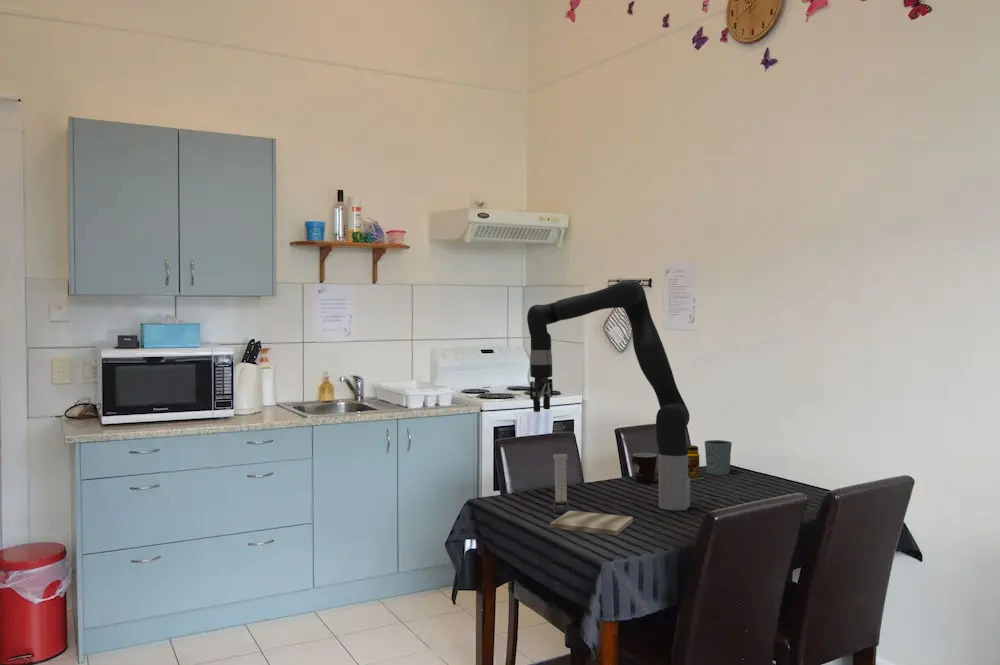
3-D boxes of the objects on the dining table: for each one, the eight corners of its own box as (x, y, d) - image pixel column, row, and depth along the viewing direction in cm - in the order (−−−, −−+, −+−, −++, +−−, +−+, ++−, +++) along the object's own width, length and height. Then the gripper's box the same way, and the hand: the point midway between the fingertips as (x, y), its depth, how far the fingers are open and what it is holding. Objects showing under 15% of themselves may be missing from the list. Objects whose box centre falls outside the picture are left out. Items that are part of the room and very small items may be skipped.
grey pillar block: (566, 509, 253) (566, 453, 253) (570, 513, 248) (570, 455, 248) (551, 510, 253) (550, 453, 252) (555, 514, 248) (554, 456, 247)
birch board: (632, 521, 238) (632, 516, 237) (616, 535, 223) (616, 530, 223) (569, 515, 246) (569, 510, 246) (550, 528, 232) (550, 523, 232)
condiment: (688, 480, 294) (688, 448, 294) (675, 476, 302) (675, 444, 302) (705, 478, 297) (704, 446, 297) (691, 474, 305) (691, 443, 305)
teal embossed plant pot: (705, 475, 304) (705, 443, 304) (703, 469, 314) (703, 439, 314) (733, 475, 302) (733, 444, 302) (730, 470, 312) (730, 439, 312)
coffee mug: (659, 484, 288) (658, 457, 288) (635, 484, 288) (634, 457, 288) (653, 477, 300) (653, 451, 300) (630, 478, 300) (630, 451, 300)
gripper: (543, 364, 264) (543, 413, 265) (559, 362, 277) (559, 408, 277) (522, 364, 268) (523, 412, 268) (539, 361, 281) (540, 408, 281)
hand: (541, 410), depth 273 cm, fingers open, 8 cm apart
